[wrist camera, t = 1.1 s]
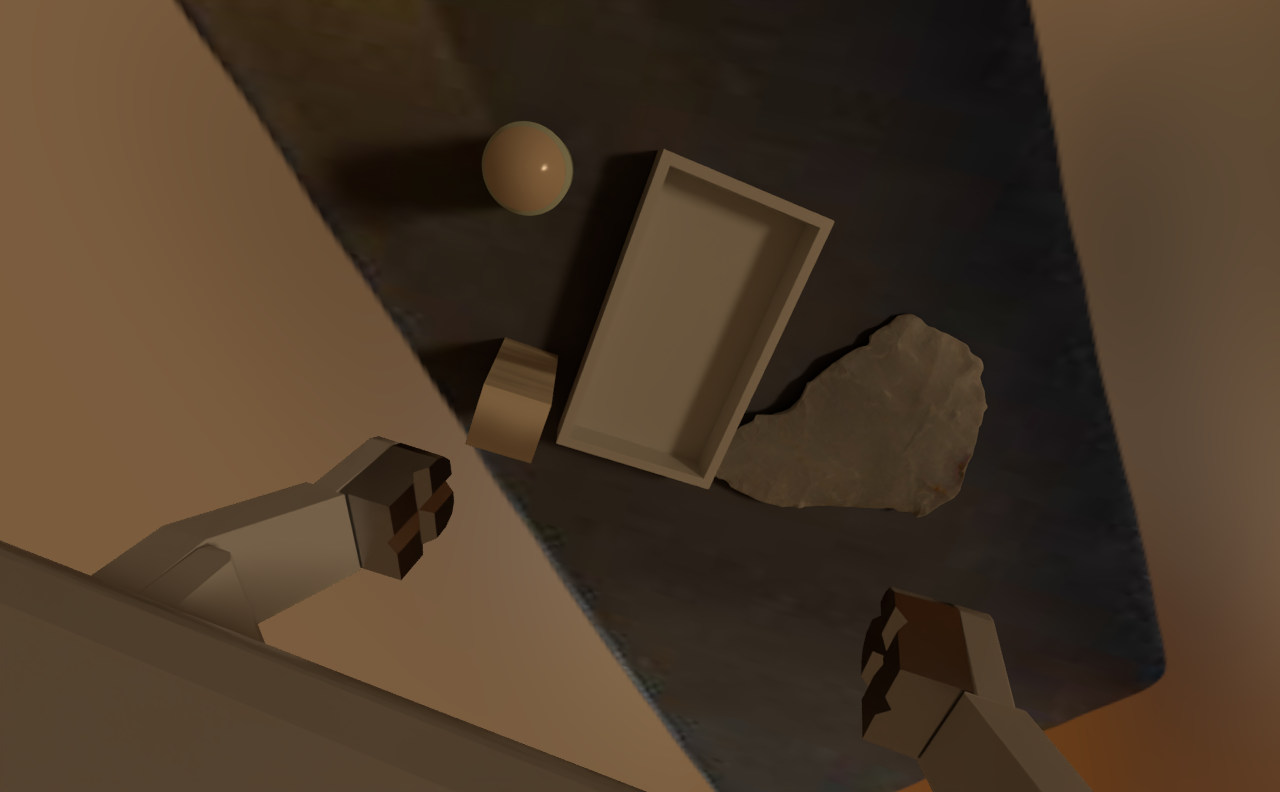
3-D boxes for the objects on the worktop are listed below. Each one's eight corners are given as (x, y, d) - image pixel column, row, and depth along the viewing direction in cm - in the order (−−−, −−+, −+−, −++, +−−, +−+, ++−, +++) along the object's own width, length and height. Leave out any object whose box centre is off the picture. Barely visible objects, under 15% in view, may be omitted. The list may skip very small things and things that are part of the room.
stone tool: (966, 294, 52) (687, 360, 51) (992, 300, 49) (696, 370, 48) (972, 489, 58) (724, 551, 57) (995, 506, 55) (733, 572, 54)
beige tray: (658, 150, 44) (663, 149, 41) (817, 217, 47) (834, 221, 44) (557, 425, 52) (556, 443, 48) (701, 469, 54) (708, 489, 51)
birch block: (505, 337, 49) (483, 383, 38) (558, 355, 49) (551, 405, 39) (489, 386, 50) (465, 444, 40) (541, 403, 51) (530, 463, 41)
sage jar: (517, 119, 43) (493, 104, 32) (583, 147, 44) (582, 141, 33) (497, 189, 44) (468, 197, 33) (562, 213, 45) (554, 230, 34)
